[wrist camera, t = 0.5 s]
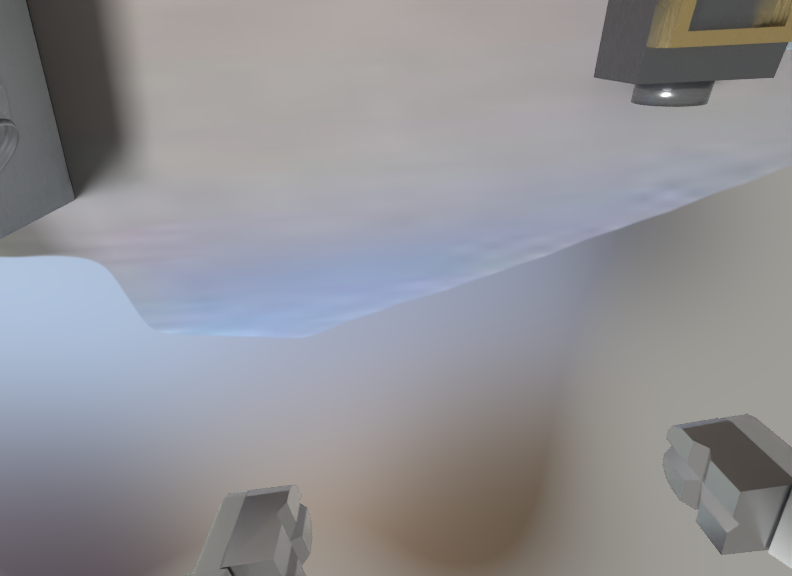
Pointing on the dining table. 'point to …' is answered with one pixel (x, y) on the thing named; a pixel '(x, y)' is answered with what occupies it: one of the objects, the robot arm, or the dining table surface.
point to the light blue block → (789, 46)
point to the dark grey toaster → (691, 46)
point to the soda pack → (26, 128)
